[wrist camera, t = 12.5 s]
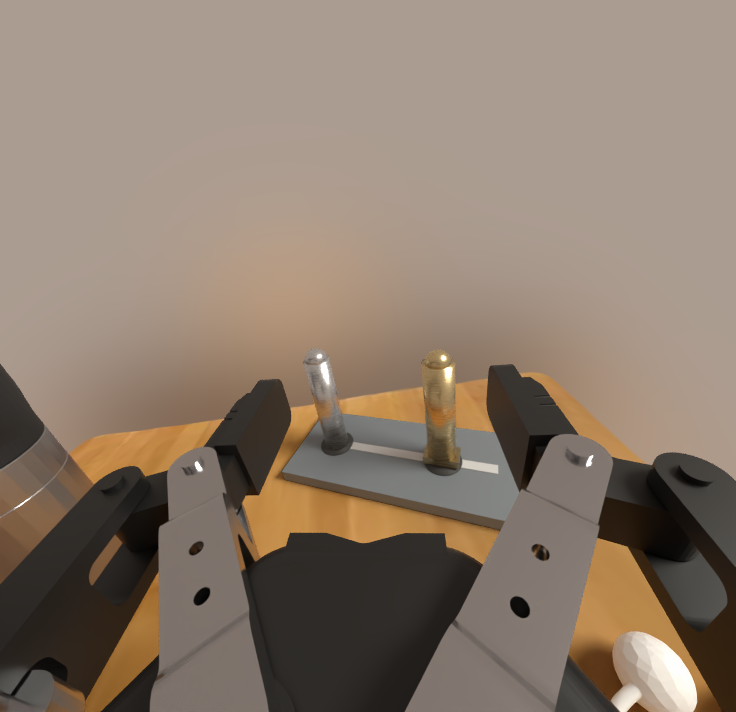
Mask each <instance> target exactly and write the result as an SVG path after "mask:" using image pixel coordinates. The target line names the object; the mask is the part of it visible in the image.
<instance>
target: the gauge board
mask: <svg viewBox="0 0 736 712" xmlns="http://www.w3.org/2000/svg"><path fill="white" fill-rule="evenodd" d="M342 416H343V420H344V424H345V429H346V433H347V437H348V444H347V445H346V447H344V448H343V449H341V450H338V451H331V450H329V449H328V448H327V446H326V443H325V439H324V436H323V432H322V428H321V425H320V421H318V422H317V424H316V425H315V426H314V428H313V429H312V430H311V432H310V433H309V435H308V436H307V437H306V439H305V440H304V441H303V443H302V444H301V446H300V447H299V448H298V450H297V451H296V452H295V454H294V455H293V457H292V458H291V459H290V461H289V462H288V464H287V465H286V466H285V468H284V469H283V470H282V474H283V476H284V479H285V480H288V481H292V482H296V483H301V484H305V485H309V486H314V487H318V488H322V489H326V490H331V491H335V492H339V493H344V494H348V495H352V496H357V497H361V498H365V499H369V500H374V501H378V502H382V503H387V504H391V505H395V506H400V507H404V508H408V509H412V510H417V511H421V512H425V513H430V514H434V515H438V516H442V517H447V518H451V519H455V520H460V521H464V522H468V523H473V524H477V525H481V526H485V527H490V528H494V529H498V530H501V528H502V526H503V524H504V522H505V520H506V518H507V516H508V514H509V512H510V510H511V508H512V506H513V504H514V502H515V500H516V498H517V496H518V495H519V490H518V488H517V485H516V483H515V480H514V478H513V475H512V473H511V470H510V468H509V465H508V463H507V460H506V458H505V456H504V453H503V451H502V448H501V446H500V443H499V441H498V438H497V436H496V433H494V432H486V431H478V430H470V429H462V428H456V447H461V455H460V463H459V469H454V468H448V467H442V466H436V465H430V464H425V463H423V454H424V450H425V446H426V442H427V435H426V424H422V423H414V422H406V421H398V420H390V419H382V418H374V417H366V416H358V415H350V414H342Z"/></svg>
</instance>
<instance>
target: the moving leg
mask: <svg viewBox="0 0 736 712" xmlns="http://www.w3.org/2000/svg"><path fill="white" fill-rule="evenodd" d="M422 378H423V392H424V406H425V421H426V435H427V442H426V446H425V450H424V454H423V463H425V464H430V465H436V466H442V467H448V468H454V469H459V463H460V455H461V447H456V407H455V361H454V360H453V359H452V358H451V357H450V356H449V354H448V353H446V352H445V351H443V350H433V351H431V352H430V353H428V355H427V356H426V358H425V359H424V360H423V361H422Z"/></svg>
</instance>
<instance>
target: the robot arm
mask: <svg viewBox="0 0 736 712" xmlns="http://www.w3.org/2000/svg"><path fill="white" fill-rule="evenodd" d="M487 411H488V415H489V418H490V421H491V423H492V426H493V428H494V431H495V433H496V436H497V438H498V441H499V443H500V446H501V448H502V451H503V453H504V456H505V458H506V460H507V463H508V465H509V468H510V470H511V473H512V475H513V478H514V480H515V483H516V485H517V488H518V490H519V495H518V496H517V498H516V500H515V502H514V504H513V506H512V508H511V510H510V512H509V514H508V516H507V518H506V520H505V522H504V524H503V526H502V528H501V530H500V532H499V534H498V536H497V538H496V540H495V542H494V544H493V546H492V548H491V550H490V552H489V554H488V556H487V558H486V560H485V562H484V564H483V565H482V564H481V563H480V562H478V561H477V560H475V559H474V558H472V557H470V556H468V555H467V554H465V553H463V552H460V551H458V550H455V549H452V548H449V547H446V540H445V533H404V534H400V535H396V536H393V537H389V538H385V539H381V540H377V541H374V542H370V543H358V542H355V541H352V540H348V539H345V538H341V537H338V536H335V535H331V534H328V533H290V535H289V538H288V541H287V545H286V546H285V547H282V548H279V549H277V550H274V551H272V552H270V553H268V554H267V555H265V556H263V557H262V558H260V556H259V553H258V551H257V547H256V544H255V541H254V538H253V534H252V531H251V528H250V524H249V521H248V518H247V515H246V511H245V508H244V506H243V504H242V502H243V500H244V498H245V496H246V495H259V494H260V492H261V489H262V487H263V485H264V483H265V480H266V478H267V476H268V473H269V471H270V469H271V467H272V464H273V462H274V460H275V458H276V455H277V453H278V451H279V448H280V446H281V444H282V442H283V439H284V437H285V435H286V432H287V430H288V428H289V426H290V422H291V410H290V407H289V403H288V400H287V397H286V394H285V391H284V388H283V384H282V382H281V381H280V380H279V379H271V380H260V381H258V383H257V384H256V385H255V387H254V388H253V390H252V391H251V393H247V394H246V395H245V396H243V397H242V398H241V399H239V400H238V401H237V402H236V403H235V405H234V406H233V407H232V409H231V410H230V413H228V414H227V416H226V417H225V418H224V421H222V422H221V424H220V425H219V426H218V428H217V429H216V431H215V432H214V433H213V435H212V436H211V437H210V439H209V440H208V442H207V443H206V444H205V446H204V447H200V448H196V449H193V450H191V451H189V452H187V453H185V454H183V455H182V456H181V457H179V458H178V459H177V460H176V461H175V462H174V463H173V464H172V465H171V466H170V468H169V470H168V471H164V472H161V473H157V474H153V475H150V476H146V477H145V475H144V474H143V473H142V471H141V470H140V469H139V468H138V467H135V466H129V467H124V468H121V469H118V470H116V471H113V472H112V473H110V474H108V475H106V476H105V477H103V478H102V479H100V480H99V481H98V482H97V483H96V484H93V483H92V482H91V480H90V479H89V478H88V477H87V475H86V474H85V473H84V472H83V471H82V469H81V468H80V467H79V466H78V464H77V463H76V462H75V461H74V460H73V458H72V457H71V456H70V455H69V454H68V452H67V451H66V450H65V449H64V448H63V447H62V445H61V444H60V443H59V442H58V441H57V440H56V438H55V437H54V436H53V435H52V433H51V432H50V431H49V430H48V428H47V427H46V426H45V425H44V424H43V422H42V421H41V420H40V419H39V418H38V416H37V415H36V414H35V413H34V411H33V410H32V408H31V407H30V405H29V403H28V402H27V401H26V399H25V397H24V395H23V394H22V392H21V391H20V389H19V388H18V386H17V385H16V383H15V382H14V381H13V379H12V378H11V377H10V376H9V374H8V373H7V372H6V371H5V369H4V368H3V367H2V366H1V364H0V712H84V711H85V701H86V699H87V697H88V695H89V694H90V692H91V690H92V688H93V686H94V685H95V683H96V681H97V679H98V678H99V676H100V674H101V672H102V670H103V669H104V667H105V665H106V663H107V662H108V660H109V658H110V656H111V654H112V653H113V651H114V649H115V647H116V646H117V644H118V642H119V640H120V638H121V637H122V635H123V633H124V631H125V630H126V628H127V626H128V624H129V622H130V621H131V619H132V617H133V615H134V614H135V612H136V610H137V608H138V607H139V605H140V603H141V601H142V599H143V598H144V596H145V594H146V592H147V591H148V589H149V587H150V585H151V583H152V582H153V580H154V578H155V576H156V575H157V573H158V571H159V655H158V656H157V657H156V658H155V659H154V660H153V661H152V662H151V663H150V664H149V665H148V666H147V667H146V668H145V669H144V670H143V671H142V672H141V673H140V674H139V675H138V676H137V677H136V678H135V679H134V680H133V681H132V682H131V683H130V684H129V685H128V686H127V687H126V688H125V689H124V690H123V691H121V692H120V693H119V694H118V695H117V696H116V697H115V698H114V699H113V700H112V701H111V702H110V703H109V704H108V705H107V706H106V707H105V708H104V709H103V710H102V711H101V712H620V711H619V710H618V709H617V708H616V706H615V705H614V704H613V703H612V702H611V701H610V700H609V699H608V698H607V697H606V696H605V694H604V693H603V692H602V691H601V690H600V689H599V688H598V687H597V686H596V685H595V684H594V682H593V681H592V680H591V679H590V678H589V677H588V676H587V675H586V674H585V673H584V672H583V670H582V669H581V668H580V667H579V666H578V665H577V664H576V663H575V662H574V661H573V660H572V658H571V657H570V656H569V655H568V653H569V649H570V645H571V641H572V637H573V633H574V629H575V625H576V621H577V617H578V613H579V609H580V605H581V601H582V597H583V593H584V589H585V585H586V581H587V576H588V572H589V568H590V564H591V560H592V556H593V552H594V548H595V544H596V540H597V538H600V539H603V540H607V541H610V542H614V543H617V544H621V545H624V546H628V548H629V550H630V552H631V553H632V555H633V557H634V559H635V560H636V562H637V564H638V565H639V567H640V569H641V571H642V572H643V574H644V576H645V578H646V579H647V581H648V583H649V585H650V586H651V588H652V590H653V591H654V593H655V595H656V597H657V598H658V600H659V602H660V604H661V605H662V607H663V609H664V611H665V612H666V614H667V616H668V617H669V619H670V621H671V623H672V624H673V626H674V628H675V630H676V631H677V633H678V635H679V637H680V638H681V640H682V642H683V644H684V645H685V647H686V649H687V650H688V652H689V654H690V656H691V657H692V659H693V661H694V663H695V664H696V666H697V668H698V670H699V671H700V673H701V675H702V676H703V678H704V680H705V682H706V683H707V685H708V687H709V689H710V690H711V692H712V694H713V696H714V697H715V699H716V701H717V702H718V704H719V706H720V708H721V709H722V711H723V712H736V481H735V480H734V479H733V478H732V477H731V476H730V475H729V474H727V473H726V472H725V471H723V470H722V469H720V468H719V467H717V466H715V465H714V464H711V463H710V462H708V461H705V460H703V459H700V458H698V457H694V456H691V455H687V454H682V453H664V454H661V455H659V456H657V457H656V459H655V460H654V462H653V465H647V464H642V463H637V462H632V461H627V460H622V459H617V458H614V457H611V455H610V454H609V452H608V451H607V450H606V449H605V448H604V447H603V446H601V445H600V444H598V443H597V442H595V441H593V440H591V439H589V438H586V437H583V436H580V435H578V433H577V432H576V430H575V429H574V428H573V426H572V425H571V424H570V422H569V421H568V420H567V418H566V417H565V415H564V414H563V413H562V411H561V410H560V409H559V407H558V406H556V403H555V402H554V400H553V399H552V398H551V397H550V395H549V394H548V392H547V391H546V389H545V388H544V387H543V385H541V384H540V383H538V382H537V381H535V380H534V379H532V378H531V377H521V375H520V374H519V372H518V371H517V369H516V368H515V366H514V365H512V364H509V365H493V366H490V368H489V375H488V387H487Z"/></svg>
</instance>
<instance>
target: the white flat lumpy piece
mask: <svg viewBox="0 0 736 712" xmlns="http://www.w3.org/2000/svg"><path fill="white" fill-rule="evenodd" d="M612 656H613V664H614V668H615V671H616V673H617V675H618V678H619V680H620V681H621V683H622V685H623V687H622V688H621V689H620V690H619V691H618V692H617V693H616V694H615V695H614V696H613V698H612V699H611V702H612V703H613V704H614V705H615V706H616V708H617V709H618V710H619V711H620V712H627V711H628V710H629V709H630V708H631V706H632V705H633V704H634V703H635V702H637V703H638V704H639V705H641V706H642V707H643V708H645V709H646V710H647V711H649V712H693V711H694V709H695V707H696V704H697V693H696V688H695V684H694V681H693V679H692V676H691V674H690V673H689V671H688V669H687V667H686V666H685V665H684V663H683V662H682V660H681V659H680V657H679V656H678V655H677V654H676V653H675V652H674V651H672V650H671V649H670V648H669V647H668V646H667V645H666V644H664V643H663V642H662V641H660V640H658V639H656V638H655V637H653V636H651V635H648V634H646V633H642V632H638V631H632V632H627V633H624V634H622V635H620V636H619V637H618V638H617V639H616V641H615V643H614V646H613V651H612Z"/></svg>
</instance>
